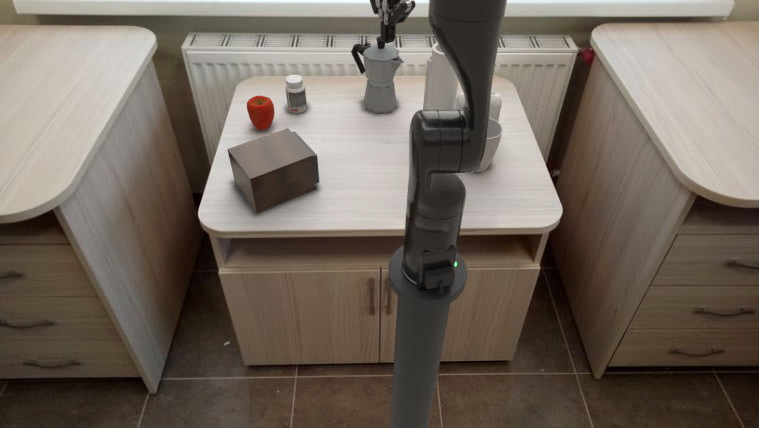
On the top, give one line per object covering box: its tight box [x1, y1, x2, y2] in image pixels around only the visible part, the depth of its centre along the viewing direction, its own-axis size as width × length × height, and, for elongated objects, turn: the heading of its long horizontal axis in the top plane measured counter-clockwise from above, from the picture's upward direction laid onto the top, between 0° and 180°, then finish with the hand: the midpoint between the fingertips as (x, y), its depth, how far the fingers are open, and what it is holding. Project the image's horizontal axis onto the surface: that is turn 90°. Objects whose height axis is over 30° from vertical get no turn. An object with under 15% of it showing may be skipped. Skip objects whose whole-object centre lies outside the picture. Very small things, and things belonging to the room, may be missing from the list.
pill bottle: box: [285, 74, 308, 114], centre depth 133 cm, size 5×5×8 cm
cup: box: [475, 118, 504, 173], centre depth 118 cm, size 8×8×10 cm
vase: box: [422, 41, 459, 110], centre depth 127 cm, size 11×7×20 cm, turn 1°
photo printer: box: [455, 90, 502, 122], centre depth 124 cm, size 10×4×12 cm, turn 85°
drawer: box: [291, 131, 320, 185], centre depth 113 cm, size 14×10×7 cm
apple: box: [246, 95, 276, 131], centre depth 128 cm, size 6×6×8 cm
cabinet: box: [226, 127, 317, 214], centre depth 112 cm, size 14×11×9 cm
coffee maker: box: [350, 35, 405, 115], centre depth 132 cm, size 15×9×18 cm, turn 56°
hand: (387, 41), depth 101 cm, fingers closed
